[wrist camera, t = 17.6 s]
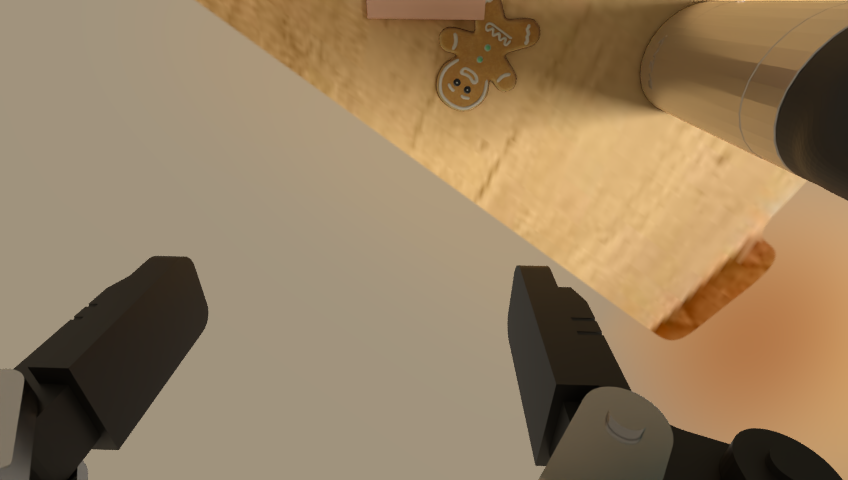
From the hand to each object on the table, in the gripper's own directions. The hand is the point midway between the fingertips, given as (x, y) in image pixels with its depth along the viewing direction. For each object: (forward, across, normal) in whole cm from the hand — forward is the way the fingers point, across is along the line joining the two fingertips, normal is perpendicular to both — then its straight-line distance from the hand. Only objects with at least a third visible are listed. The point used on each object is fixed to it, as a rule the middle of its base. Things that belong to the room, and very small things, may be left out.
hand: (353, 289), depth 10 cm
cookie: (+33, -6, -2) cm, 33 cm away
